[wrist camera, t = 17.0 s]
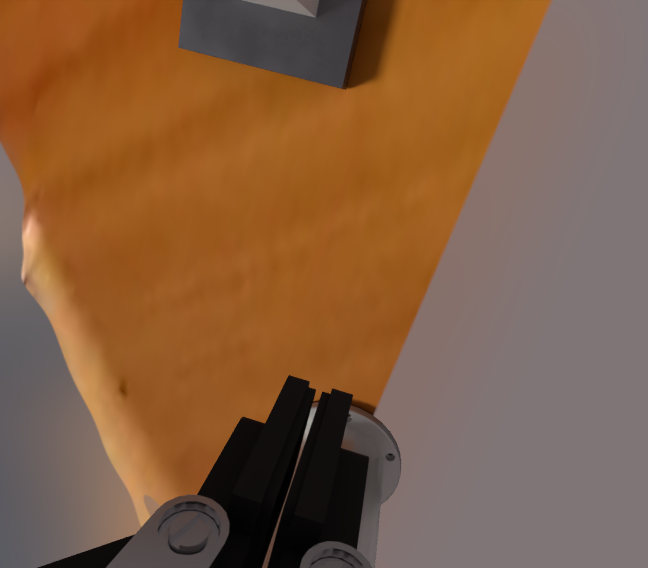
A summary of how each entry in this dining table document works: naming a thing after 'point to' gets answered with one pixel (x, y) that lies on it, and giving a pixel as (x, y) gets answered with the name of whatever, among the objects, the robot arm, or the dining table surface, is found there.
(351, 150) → the dining table surface
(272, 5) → the knob
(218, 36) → the plate
